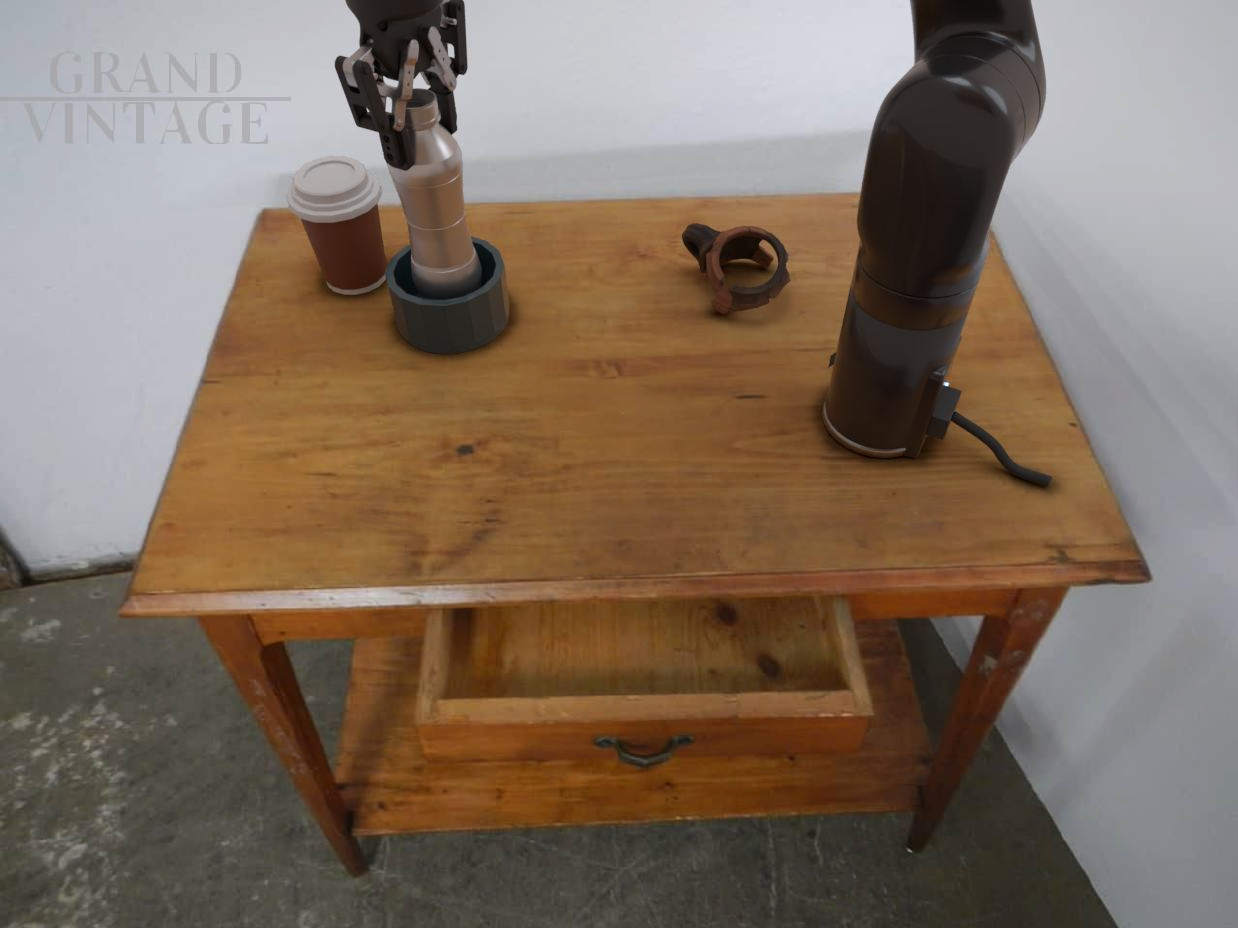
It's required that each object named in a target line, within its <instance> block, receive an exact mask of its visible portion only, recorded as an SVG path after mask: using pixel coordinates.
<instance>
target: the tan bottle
mask: <svg viewBox="0 0 1238 928" xmlns="http://www.w3.org/2000/svg"><path fill="white" fill-rule="evenodd" d="M427 89H428V88H421V87H413V92H412V98H411V99H410V100H409V101H407V103H406V113H405V124H404V126H405V127H407V133H408V138H409V143H410V148H411V153H412V158H413V163H414V165H413V166H412V167H411V168H410V169H409V170H407V171H404V170H401V169H397V168H394V167H391V166H390V165H389V164H388V163H387V162H386V161H385V162H386V166H387V169H388V173H389V176H390V177H391V180H392V183H393V185H394V188H395V190H396V193H397V195H398V198H399V201H400V203H401V207H402V212H403V215H404V217H405V222H406V224H407V230H408V231H407V232H408V239H409V244H410V247H411V273H412V279H413V281H414V284H415V286H416V288H417V290H418V292H419V293H420V294H421V295H422V296H423V297H424V298H425V299H429V300H448V299H453V298H458V297H463V296H466V295H468V294H470V293H472V292H474V291H476V290H478V289H479V287H480V285H481V274H482V267H481V264H480V261H479V258H478V255H477V253H476V250H475V248H474V246H473V243H472V239H471V236H472V235H471V232H470V228H469V225H468V221H467V215H466V208H465V196H464V161H463V151H462V149H461V147H460V145H459V143H458V141H457V140H456V138H455V137H454V136H453V134H452V135H451V134H450V133H449V132H448V130H447V129H446V128H444V127H443V126H442V125H441V124H440V123H439V121H440V119H441V114H440V110H439V109H438V103H437V98H436V95H435V93H434V92H432V91H430V90H427Z"/></svg>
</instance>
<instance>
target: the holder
mask: <svg viewBox="0 0 1238 928" xmlns="http://www.w3.org/2000/svg"><path fill="white" fill-rule="evenodd" d="M471 239H472V243H473V246H474V248H475V250H476V253H477V255H478V258H479V261H480V264H481V267H482V274H481V285H480V287H479V289H478V290H476V291H474V292H472V293H470V294H468V295H466V296H463V297H458V298H453V299H448V300H429V299H425V298H424V297H423V296H422V295H421V294H420V293H419V292H418V290H417V288H416V286H415V284H414V281H413V279H412V273H411V247H410V243H408V245H405V246H403V247H402V248H401V249H400V250H399V251H398V252H396V254H395V255H393V256H392V257H391V258H390V260H389V262H388V265H387V266H386V267H387V269H386V271H385V276H386V280H385V281H386V284H387V288H388V292H389V293H388V294H389V296H390V301H391V304H392V309H393V312H394V316H395V317H394V318H395V321H396V325H397V326H396V327H397V329H398V331H399V334H400V335H401V337H402V338H403V339H404V340H405V342H407V343H408V344H409V345H411V346H412V347H414V348H416V349H419V350H421V351H423V352H426V353H427V352H428V353H432V354H438V355H439V354H440V355H452V354H453V355H455V354H462V353H467V352H470V351H474V350H476V349H479V348H481V347H483V346H486V345H488V344H489V343H491V342H492V341H494V340H495V339H496V338H497V337H499V336H500V335H501V334H502V333H503V331H504V330H505V328H506V327H507V324H508V323H509V319H510V305H511V304H510V298H509V290H508V281H507V274H506V273H507V272H506V264H505V262H504V259H503V256H502V254H501V251H500V250H499V249H498V248H497V247H495V246H494V245H493V244H492V243H490V242H489V241H487V240H485V239H482V238H479V237H476V236H473V235H471Z"/></svg>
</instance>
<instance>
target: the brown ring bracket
mask: <svg viewBox="0 0 1238 928" xmlns="http://www.w3.org/2000/svg"><path fill="white" fill-rule="evenodd" d="M681 240H682V243H683V245H684V247H685V248H686V250H687V251H688V252H689V254H690V255H691V256H693V258H694V259H695V260H696V261H697V263H698V267H699V271H700V272H701V273H702V274H704V273H706V272H707V276H708V280H709V282H710V285H711V287H712V289H713V290H714V292H716V293H715V296H714V298H713V299H712V300H711V307H712V308H713V309H714V310H715V311H716V312H718V313H720V314H722V315H725V314H728V313H729V311H731V312H734V313H736V312H743V311H749V310H753V309H757V308H761V307H764V306H766V305H769V303H770V299H776V298H777V297H778V295H780V293H781V292H782V290H783V289H784V287H786V286H787V285H788V284H789V283H790V282H792V281H791V276H790V272H789V270H788V269H787V263H788V261H789V256H790V255H789V253H788V251H787V249H786V248H785V245H784V244H783V243H782V242H781V240H780V239H779V238H778V237H777V236H775V234H773V233H772V232H769V231H768V230H766V229H764V228H761V227H758V226H755V225H740V226H736V227H733V228H729V229H726V230H723V231H720V230H716V229H714V228H712V227H711V226H709V225H707V224H702V223H697V222H695V223H694V222H692V223H689V224H688V225H687V226H686V228H685V229H684V230H683V232H682V234H681ZM762 241H765V242H766V243H768V244H769V245H770V246H771V247H772V249H773V250H774V252H775V254H776V257H777V267H776V270H775V273H774V274H773V275H772V276H771V278H769V280H768V281H766V282H764V283H762V284H759V285H755V286H744V285H743V286H742V285H738V284H735V283H733V284H732V289H731V288H729V287H728V286H727V285H726V284H725V283H724V281H725V277H726V276H725V274H724V272H723V270H722V268H721V267H722V266H723V265H725V264H727V263H729V262H733V261H737V260H738V261H739V260H750V261H752V262H754V263H756V264H758V265H759V266H761V267H763V268H764V269H765V270H768V269H770V267H771V265H772V262H774V259H775V258H774V256H773V254H771V253H770V252H768V251H767V250H766V249H765V248H764V247H763V246H762V245H760V243H762Z"/></svg>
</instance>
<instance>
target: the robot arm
mask: <svg viewBox="0 0 1238 928" xmlns="http://www.w3.org/2000/svg"><path fill="white" fill-rule="evenodd" d="M344 1H345V4H346V6H347V8H348V9H349V11H350V12H351V13H352V14H353V15H354V17H355V18H356V20H357V22H358V24H359V41H358V42H359V43H358V45H359V48H358V49H357V50H356V51H355V52H353V54H352V55H350V56H349V57H348V56H344V55H337V57H336V58H335V60H334V69H335V72H336V75H337V77H338V80H339V83H340V85H341V88H342V90H343V91H342V92H343V93H344V96H345V100H346V102H347V105H348V107H349V109H350V113H351V115H352V118H353V121H354V123H355V125H356V127H358V128H362V129H364V130H368V131H371V132H376V133H378V137H379V141H380V146H381V150H382V154H383V159H384V161H385V162H387V163H388V164H389V165H390V166H391V167H394V168H397V169H401V170H404V171H407V170H409V169H410V168H411V167H412V166H413V165H414V163H413V158H412V153H411V148H410V143H409V138H408V133H407V127H405V126H404V124H405V113H406V103H407V101H409V100H410V99H411V98H412V92H413V88H414V80H415V79H416V78H417V76H418V75H419V74H420V75H421V78H422V79H423V80H424V81H423V82H424V83H425V85H427V86H429V87H428V88H426V89H427V90H430V91H432V92H434V93H435V95H436V98H437V103H438V109H439V110H440V114H441V119H440V121H439V123H440V124H441V125H442V126H443V127H444V128H446V129H447V130H448V132H449V133H450V134H451V135H452V136H453V135H454V134H455V133H456V132H457V131H458V113H457V107H456V101H455V94H454V91H455V90H456V88H457V84H458V80H457V78H458V77H459V75H460V76H464V75H466V74H467V72H468V65H469V64H468V46H467V45H468V44H467V23H466V6H465V1H464V0H344ZM909 7H910V13H911V14H910V15H911V20H912V21H911V22H912V31H913V32H912V35H913V53H914V54H913V58H914V59H913V65H912V66H911V68H910V69H909V70H908V71H907V72H905V74H904V75H903V76H902V77H901V78H900V79H899V80H898V81H897V82H896V83H895V84H894V85H893V87H891V88H890V90H889V91H888V93H887V94H886V95H885V96H884V98H883V100H882V102H881V104H880V106H879V109H878V111H877V112H876V115H875V119H874V122H873V126H872V129H871V133H870V137H869V142H868V146H867V152H866V157H865V164H864V169H863V174H862V181H861V187H860V194H859V200H858V207H857V214H856V227H857V228H856V229H857V233H858V237H859V243H858V248H857V253H856V257H855V263H854V267H853V273H852V277H851V281H850V286H849V291H848V295H847V300H846V304H845V309H844V314H843V318H842V323H841V327H840V332H839V337H838V342H837V346H836V351H835V352H833V353H832V354H830V357H829V363H828V367H827V368H828V369H829V368H830V367H832V370H831V374H830V379H829V384H828V388H827V391H826V396H825V398H824V402H823V407H822V420H823V424H824V427H825V429H826V430H827V432H828V433H829V434H830V436H831V437H832V438H833V439H834V440H835V441H837V442H838V443H839V444H840V445H842V446H844V448H846V449H848V450H851V451H852V452H854V453H857V454H860V455H863V456H867V457H873V458H879V459H882V458H883V459H885V458H886V459H887V458H888V459H889V458H890V459H891V458H897V457H902V456H903V457H908V458H910V459H918V458H919V455H920V454H921V451H922V449H923V446H924V443H925V442H926V441H927V438H928V436H929V437H931V438H934V439H938V440H941V441H943V440H944V439H945V437H946V434H947V432H948V430H949V427H950V424H951V422H952V423H953V424H955V425H956V426H957V427H959V428H961V429H963V430H964V431H966V432H967V433H969V434H970V435H972V436H973V437H975V438H976V439H978V441H980V442H981V443H983V444H984V445H985V446H986V447H987V448H988V449H989V450H990V451H991V452H992V453H993V454H994V455H993V456H994V457H995V458H996V459H997V461H998V462H999V463H1000V465H1001V466H1002V467H1003V468H1004V469H1005V470H1006V471H1008V472H1009V473H1010V474H1012V475H1014V476H1016V477H1018V478H1020V479H1023V480H1026V481H1028V482H1032V483H1036V484H1038V485H1043V486H1045V487H1049V485H1050V483H1051V480H1052V478H1053V476H1052V475H1049V474H1046V473H1043V472H1039V471H1036V470H1032V469H1028V468H1027V467H1024V466H1022V465H1020V464H1018V463H1017V462H1015V461H1014V460H1013V459H1012V458H1011V457H1010V456H1009V454H1008V453H1007V451H1006V449H1005V448H1004V447H1003V445H1002V444H1001V443H1000V442H999V441H998V439H996V438H995V437H994V436H993V435H992V434H990V433H989V431H986V430H985V429H984V428H983V427H981V426H980V425H978V424H976V423H975V422H973V421H972V420H970V419H969V418H967V417H966V416H964V415H962V414H961V413H959V412H957V411H956V409H957V406H958V403H959V401H960V397H961V396H962V392H963V391H962V390H961V389H957V388H954V387H951V386H949V385H950V383H949V382H948V380H949V377H950V373H951V371H952V367H953V364H954V361H955V359H956V356H957V353H958V350H959V346H960V344H961V342H962V334H963V333H962V332H963V330H964V327H965V324H966V320H967V317H968V314H969V312H970V309H971V305H972V303H973V300H974V297H975V294H976V291H977V288H978V286H979V282H980V279H981V277H982V274H983V271H984V268H985V265H986V262H987V260H988V256H989V253H990V248H991V241H990V235H989V230H990V227H991V224H992V221H993V217H994V215H995V211H996V209H997V205H998V202H999V200H1000V196H1001V193H1002V190H1003V187H1004V185H1005V182H1006V179H1007V176H1008V173H1009V171H1010V168H1011V166H1012V164H1013V163H1014V162H1015V161H1016V159H1017V158H1018V157H1019V155H1020V153H1021V152H1022V151H1023V150H1024V148H1025V147H1026V145H1027V144H1028V142H1029V141H1030V139H1031V138H1032V136H1033V135H1034V134H1035V132H1036V130H1037V128H1038V126H1039V124H1040V122H1041V120H1042V118H1043V114H1044V109H1045V104H1046V99H1047V76H1046V68H1045V62H1044V57H1043V52H1042V47H1041V41H1040V37H1039V32H1038V27H1037V22H1036V18H1035V14H1034V8H1033V4H1032V0H909ZM449 45H451V46H452V47H453V56H454V57H453V56H450V55H449ZM384 77H385V78H386V79H388V80H392V81H396V82H397V86H393V85H390V84H387V83H386V82H385V80H384ZM387 98H389V99H390V100H391V112H389V111H387V110H386V109H387ZM387 163H386V164H387Z"/></svg>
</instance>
